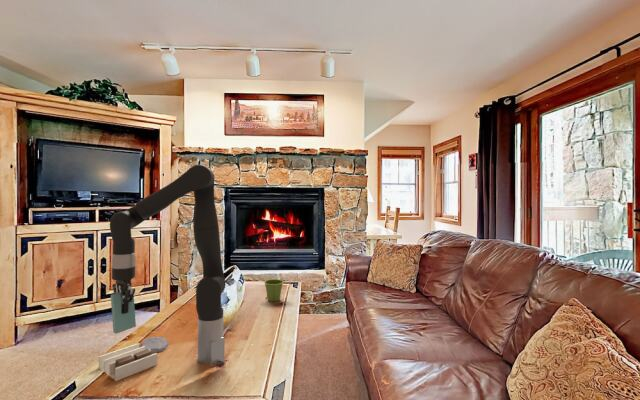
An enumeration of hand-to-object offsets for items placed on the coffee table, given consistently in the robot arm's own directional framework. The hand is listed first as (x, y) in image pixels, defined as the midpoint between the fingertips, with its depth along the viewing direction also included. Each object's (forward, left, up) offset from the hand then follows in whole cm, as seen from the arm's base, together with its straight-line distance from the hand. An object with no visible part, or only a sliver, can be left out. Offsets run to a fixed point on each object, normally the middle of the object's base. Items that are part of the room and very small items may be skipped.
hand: (123, 312), depth 126 cm
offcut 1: (-8, +3, -19) cm, 21 cm away
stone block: (+4, -14, -21) cm, 25 cm away
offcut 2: (-8, -3, -19) cm, 21 cm away
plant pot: (+13, -92, -20) cm, 95 cm away
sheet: (0, -1, -7) cm, 7 cm away
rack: (-4, 0, -20) cm, 21 cm away
